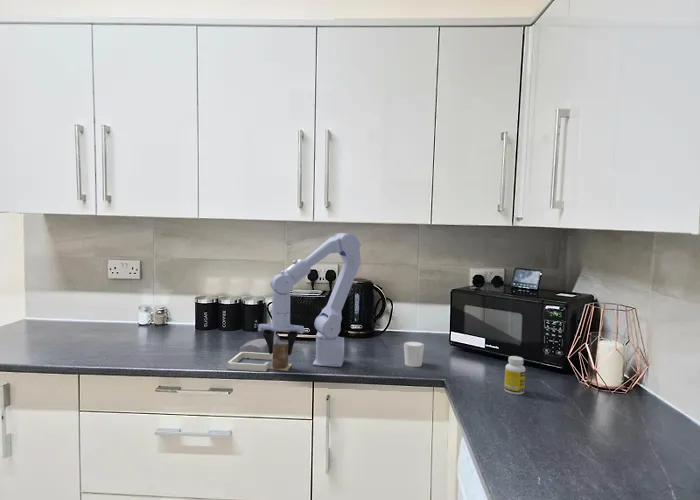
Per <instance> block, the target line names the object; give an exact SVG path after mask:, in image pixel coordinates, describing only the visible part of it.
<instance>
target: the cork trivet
mask: <svg viewBox="0 0 700 500" xmlns="http://www.w3.org/2000/svg"><path fill="white" fill-rule="evenodd" d="M292 366H293V364H292V363H288V365H287V366H286V368H285V369H284V368H272V366H271V367H269V369H270V370H269V371H287V372H288V371H289V370H290V368H291V367H292Z"/></svg>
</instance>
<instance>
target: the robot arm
mask: <svg viewBox="0 0 700 500" xmlns="http://www.w3.org/2000/svg"><path fill="white" fill-rule="evenodd" d="M361 246H362V245H361V242H360V240H359V238H358V237H357V235H355V234H354V233H345V232H337V233H335V234H334V235H333V236H330V237H329V238H328V239H327V240H326V241H325V242H323V243H322V244H320V245H319V246H318V248H316V249H314V251H313V252H312V253H310V254H309V255H307V257H306V258H304V259H302V258H299V259H297V260H296V259H294V260H292V264H291V265H290V266H288V267H287V268H286V269H282V270H281V271H280V273H278V274H276V275H274V276H273V277H272V278H271V282H270V285H269V286H270V288H271V289H272V297H271V298H272V299H271V300H272V302H271V303H272V305H271V323H259V324H258V325H257V331H258V332H262V331H263V332H262V336H263V339H265V340H266V342H267V345H268V349H269V352H268V353H269V354H272V353H273V341H275V340H274V339H275V338H274V337H275V332H276V333H277V332H280V333H281V332H283V333H287V343H288V356H291V355H292V353H293V349H294V345H295V342H296V339H297V337H298V335H299V334H304V332H305V327H304V326H303V325H296V324H292V323H291V292H292V290H293V288H294V285H296V284H298V283H299V282H301V281H302V280H303V279H304V278H306V277H307V276H308V275H309V274H310V273H311V269H312V267H313V266H316V265H317V264H318V263H319V262H320V261H322V260H323V259H325V258H326V257H327V256H328V255H330V254H337V253H338V254H339V256H340V257H341V260H342V262H343V264H342V267H341V269H340V271H339V274H338V276H337V279H336V281H335V284H334V286H333V289H332V292H331V293H330V296H329V299H328V302H327V304H326V305H325V306H324V307H323V308H322V309H321V312H320V313H319V315H317V316H316V318H314V319H315V320H314V323H313V324H314V328H315V330H316V331H317V333H316V337H315V359H314V361H313V363H312V365H313V366H323V367H336V368H337V367H339V368H341V367H342V365H343V363H344V361H345V338H344V337H343V336H342V337H341V336H339V334H340V332H341V329H342V328H341V323H342V320H343V316H342V311H343V308H344V306H345V303H346V300H347V298H348V295H349V293H350V291H351V288H352V285H353V284H354V280H355V278H356V276H357V272H358V270H359V268H360V267H361V266H360V265H361V261H362V259H361V250H360V248H361Z"/></svg>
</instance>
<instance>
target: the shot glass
mask: <svg viewBox="0 0 700 500" xmlns="http://www.w3.org/2000/svg"><path fill="white" fill-rule="evenodd" d="M403 350H404V351H403V352H404V365H405V366H407V367H412V368H414V367H415V368H418V367H419V368H420V367H421V366H422V365H423V359H424V358H423V357H424V350H425V343H422V342H420V341H405V342H403Z"/></svg>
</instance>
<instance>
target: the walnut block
mask: <svg viewBox="0 0 700 500" xmlns="http://www.w3.org/2000/svg"><path fill="white" fill-rule="evenodd" d="M288 364H289V355H288V342H287V343H286V342H284V343H283V342H276V343H274V345H273V362H272V365H271V367H272V368H284V369H285V368H286V366H287V365H288Z"/></svg>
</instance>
